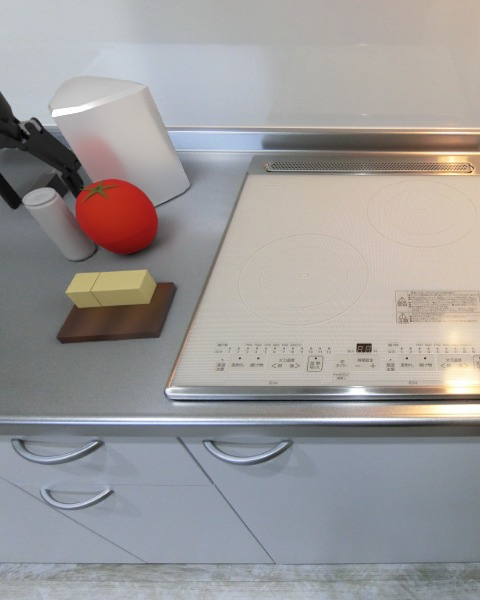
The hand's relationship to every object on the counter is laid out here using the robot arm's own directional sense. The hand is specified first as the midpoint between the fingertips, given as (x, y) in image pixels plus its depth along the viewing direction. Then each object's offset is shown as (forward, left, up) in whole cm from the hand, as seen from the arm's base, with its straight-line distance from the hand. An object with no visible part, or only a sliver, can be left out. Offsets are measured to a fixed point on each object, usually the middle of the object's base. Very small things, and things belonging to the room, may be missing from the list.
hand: (51, 202), depth 86 cm
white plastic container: (+17, 0, 0) cm, 17 cm away
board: (+24, -30, 0) cm, 39 cm away
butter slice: (+20, -28, +1) cm, 34 cm away
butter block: (+25, -28, +1) cm, 38 cm away
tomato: (+21, -14, 0) cm, 26 cm away
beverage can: (+12, -15, 0) cm, 20 cm away
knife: (0, +5, 0) cm, 5 cm away
